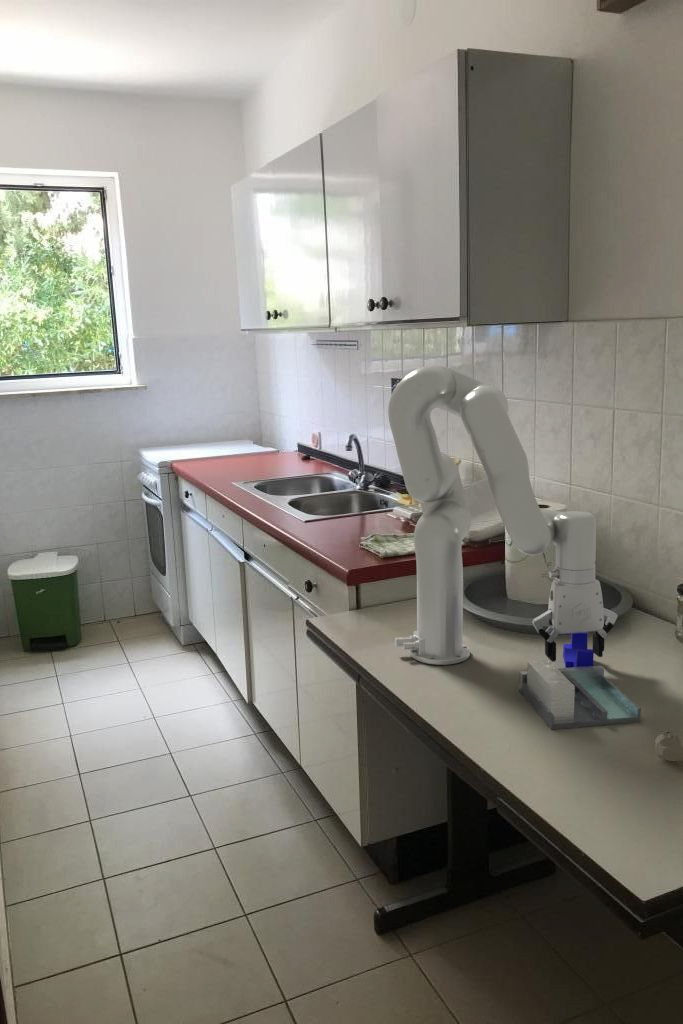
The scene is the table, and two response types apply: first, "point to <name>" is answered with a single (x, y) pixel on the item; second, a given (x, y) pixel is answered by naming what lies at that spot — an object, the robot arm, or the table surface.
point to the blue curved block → (577, 652)
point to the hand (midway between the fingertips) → (574, 656)
